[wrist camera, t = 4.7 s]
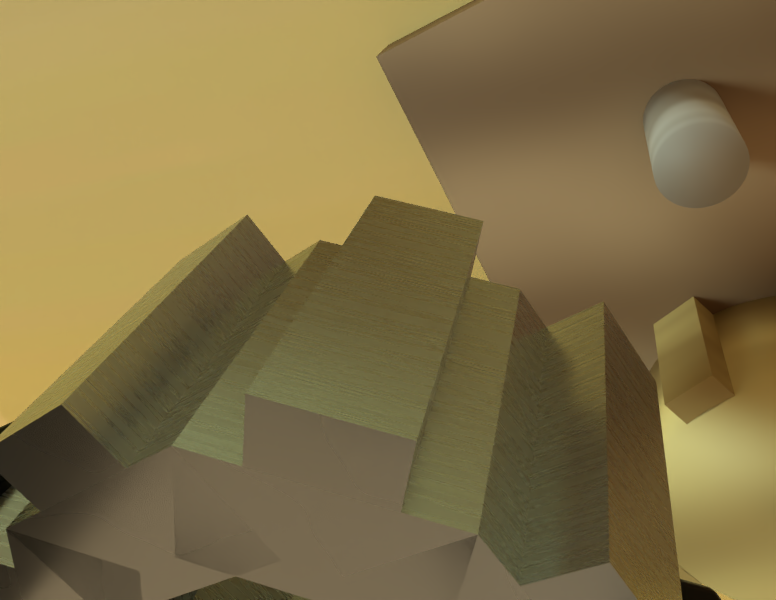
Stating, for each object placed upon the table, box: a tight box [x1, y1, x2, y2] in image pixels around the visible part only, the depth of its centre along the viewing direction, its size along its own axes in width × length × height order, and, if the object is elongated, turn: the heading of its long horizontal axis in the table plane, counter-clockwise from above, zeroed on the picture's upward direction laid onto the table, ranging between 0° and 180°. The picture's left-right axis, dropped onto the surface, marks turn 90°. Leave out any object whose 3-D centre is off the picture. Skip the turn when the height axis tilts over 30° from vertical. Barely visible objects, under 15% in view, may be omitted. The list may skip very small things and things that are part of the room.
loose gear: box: [0, 196, 682, 600], centre depth 8 cm, size 7×7×4 cm
